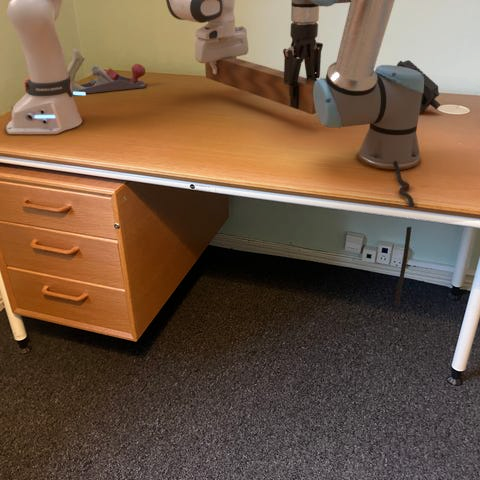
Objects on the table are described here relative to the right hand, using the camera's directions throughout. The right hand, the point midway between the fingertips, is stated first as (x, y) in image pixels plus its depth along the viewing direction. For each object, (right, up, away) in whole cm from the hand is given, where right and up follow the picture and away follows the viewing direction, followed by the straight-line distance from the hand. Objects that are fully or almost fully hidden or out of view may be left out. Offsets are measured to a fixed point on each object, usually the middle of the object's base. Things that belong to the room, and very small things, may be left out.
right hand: (300, 105), depth 158 cm
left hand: (-24, +18, +24) cm, 38 cm away
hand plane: (-68, +16, +40) cm, 81 cm away
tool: (+36, +2, +14) cm, 39 cm away
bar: (-12, +7, +13) cm, 19 cm away
